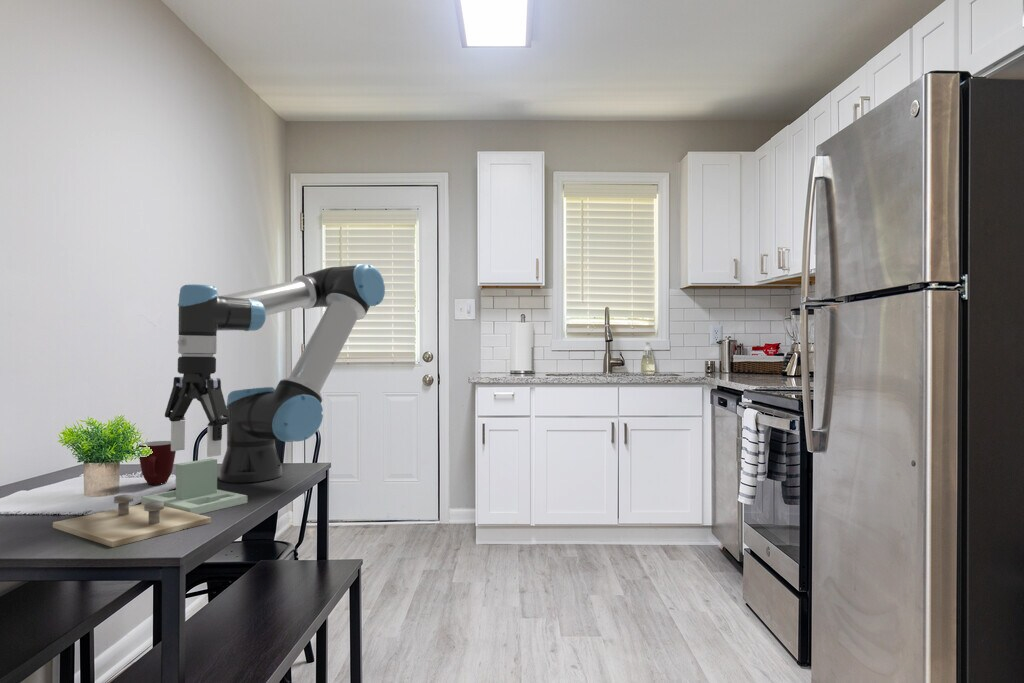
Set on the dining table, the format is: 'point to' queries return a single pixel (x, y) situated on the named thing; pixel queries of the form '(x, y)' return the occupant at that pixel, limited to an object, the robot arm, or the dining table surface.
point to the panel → (198, 501)
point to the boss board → (130, 522)
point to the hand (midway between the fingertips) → (195, 453)
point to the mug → (157, 462)
